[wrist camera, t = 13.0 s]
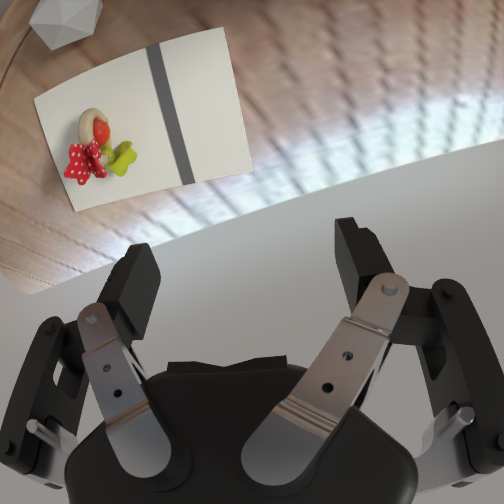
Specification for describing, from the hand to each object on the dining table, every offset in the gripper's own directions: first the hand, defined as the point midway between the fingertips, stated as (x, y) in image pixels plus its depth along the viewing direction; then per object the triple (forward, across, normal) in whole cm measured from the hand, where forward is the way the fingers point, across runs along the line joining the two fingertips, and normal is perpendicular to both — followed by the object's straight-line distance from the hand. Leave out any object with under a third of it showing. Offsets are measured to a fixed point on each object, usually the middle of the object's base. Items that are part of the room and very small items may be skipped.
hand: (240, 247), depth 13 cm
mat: (+25, +14, -2) cm, 29 cm away
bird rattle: (+25, +17, -2) cm, 30 cm away
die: (+26, +17, -19) cm, 36 cm away
